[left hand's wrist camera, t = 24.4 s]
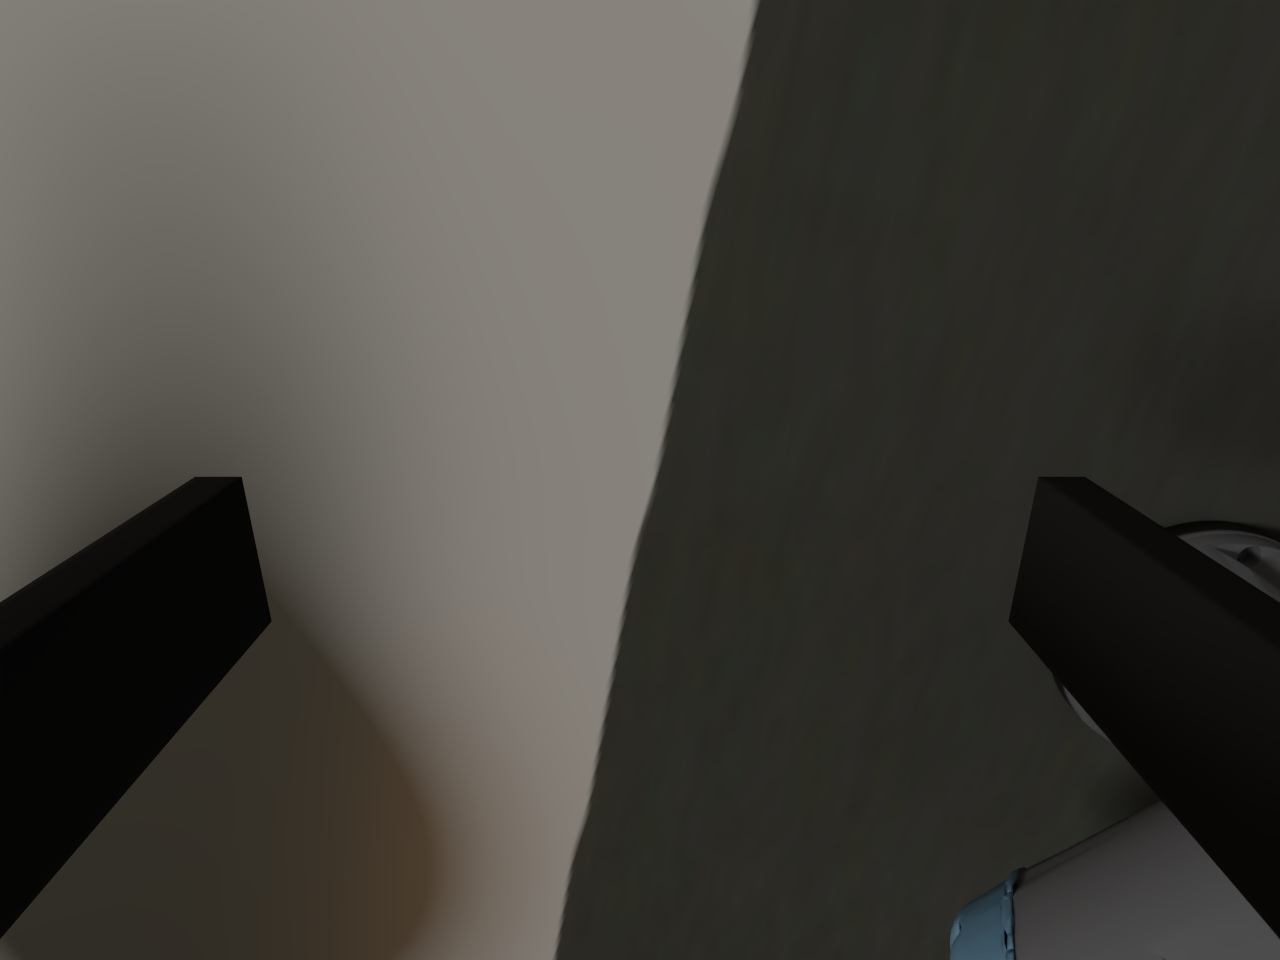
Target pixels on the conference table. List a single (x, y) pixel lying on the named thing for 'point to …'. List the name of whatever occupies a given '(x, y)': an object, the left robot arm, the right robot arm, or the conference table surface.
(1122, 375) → the conference table surface
